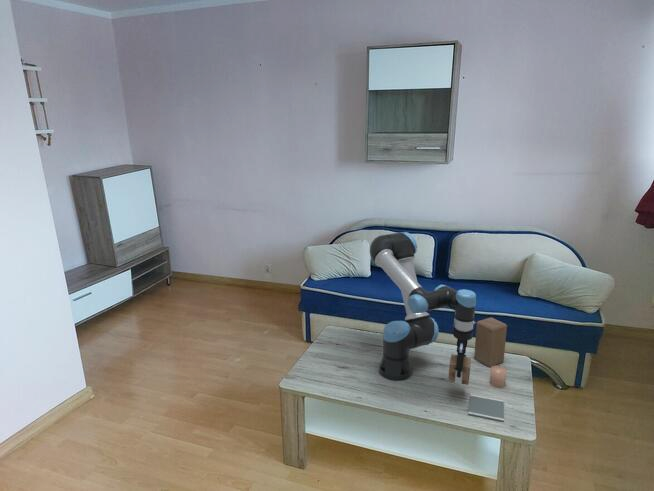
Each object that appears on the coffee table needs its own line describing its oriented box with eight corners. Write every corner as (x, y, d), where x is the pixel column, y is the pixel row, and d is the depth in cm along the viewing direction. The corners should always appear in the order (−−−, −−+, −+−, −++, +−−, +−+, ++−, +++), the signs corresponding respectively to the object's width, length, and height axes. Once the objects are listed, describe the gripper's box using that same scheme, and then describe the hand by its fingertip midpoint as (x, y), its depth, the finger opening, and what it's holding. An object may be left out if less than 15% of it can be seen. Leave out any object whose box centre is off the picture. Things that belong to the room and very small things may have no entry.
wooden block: (489, 368, 203) (492, 329, 197) (473, 358, 211) (476, 320, 206) (504, 362, 207) (508, 324, 202) (488, 353, 216) (491, 316, 210)
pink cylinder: (489, 386, 189) (490, 371, 187) (489, 378, 195) (490, 364, 193) (505, 389, 187) (506, 374, 185) (505, 381, 192) (506, 366, 190)
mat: (468, 414, 170) (468, 412, 170) (470, 396, 182) (470, 394, 182) (503, 422, 166) (504, 420, 166) (503, 402, 178) (503, 400, 177)
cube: (448, 381, 180) (449, 364, 177) (450, 370, 187) (451, 354, 184) (468, 385, 177) (470, 367, 174) (469, 374, 184) (471, 357, 182)
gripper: (471, 341, 164) (466, 393, 171) (474, 318, 183) (470, 365, 190) (451, 338, 167) (447, 389, 174) (456, 315, 186) (452, 362, 192)
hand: (459, 376), depth 182 cm, fingers closed on cube, 8 cm apart
